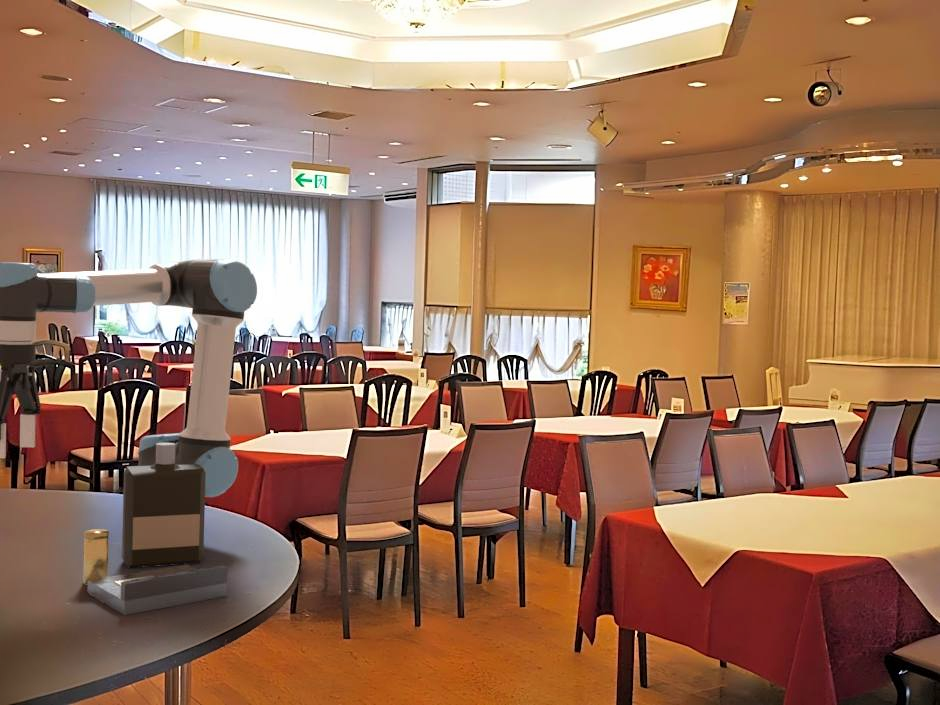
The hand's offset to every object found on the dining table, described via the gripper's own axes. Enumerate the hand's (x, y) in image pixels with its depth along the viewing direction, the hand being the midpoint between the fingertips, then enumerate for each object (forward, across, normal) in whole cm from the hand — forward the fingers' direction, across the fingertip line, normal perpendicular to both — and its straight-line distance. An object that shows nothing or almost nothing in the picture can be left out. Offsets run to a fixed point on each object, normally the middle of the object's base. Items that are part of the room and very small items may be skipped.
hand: (12, 452), depth 196 cm
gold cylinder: (+25, +1, +17) cm, 30 cm away
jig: (+25, +8, +30) cm, 40 cm away
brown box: (+25, -15, +25) cm, 39 cm away
